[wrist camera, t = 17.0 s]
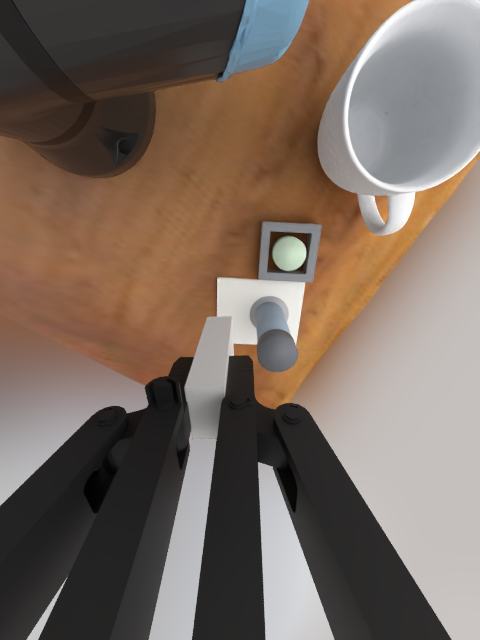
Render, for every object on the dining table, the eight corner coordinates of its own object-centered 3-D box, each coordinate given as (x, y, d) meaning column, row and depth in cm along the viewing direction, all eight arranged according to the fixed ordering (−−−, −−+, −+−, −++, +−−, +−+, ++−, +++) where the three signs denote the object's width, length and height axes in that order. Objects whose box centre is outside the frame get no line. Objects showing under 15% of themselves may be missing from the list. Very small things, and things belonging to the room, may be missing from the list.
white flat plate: (217, 276, 36) (217, 278, 35) (304, 281, 36) (305, 282, 35) (217, 340, 40) (216, 342, 39) (295, 344, 40) (295, 346, 39)
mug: (404, 217, 32) (496, 224, 20) (315, 240, 34) (353, 259, 22) (402, 66, 27) (529, -46, 15) (296, 101, 28) (333, 24, 16)
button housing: (261, 220, 33) (262, 221, 31) (316, 223, 33) (321, 224, 31) (257, 275, 36) (258, 279, 34) (308, 277, 36) (312, 282, 34)
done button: (272, 234, 33) (274, 236, 31) (304, 235, 33) (308, 238, 31) (269, 265, 35) (271, 270, 32) (299, 267, 35) (303, 271, 32)
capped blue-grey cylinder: (253, 327, 38) (256, 371, 28) (255, 300, 37) (258, 336, 26) (282, 328, 38) (295, 372, 28) (285, 301, 37) (300, 338, 26)
